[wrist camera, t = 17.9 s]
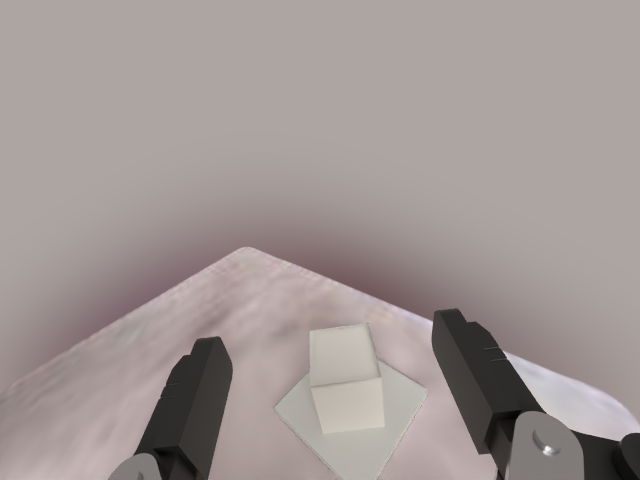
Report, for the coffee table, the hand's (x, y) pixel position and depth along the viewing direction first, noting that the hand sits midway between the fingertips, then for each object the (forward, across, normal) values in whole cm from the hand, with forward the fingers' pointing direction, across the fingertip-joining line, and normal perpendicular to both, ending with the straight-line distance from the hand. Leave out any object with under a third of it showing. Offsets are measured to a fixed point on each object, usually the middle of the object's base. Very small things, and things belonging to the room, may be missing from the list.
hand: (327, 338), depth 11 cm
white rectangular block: (+10, 0, +23) cm, 25 cm away
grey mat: (+10, 0, +24) cm, 26 cm away
